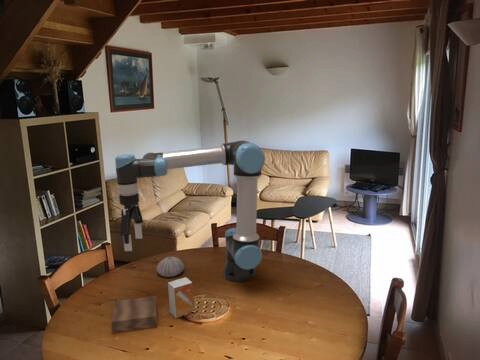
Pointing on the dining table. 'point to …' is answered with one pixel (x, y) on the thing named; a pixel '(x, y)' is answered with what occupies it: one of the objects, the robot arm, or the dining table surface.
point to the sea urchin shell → (170, 267)
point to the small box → (180, 297)
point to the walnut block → (134, 314)
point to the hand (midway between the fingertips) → (134, 244)
